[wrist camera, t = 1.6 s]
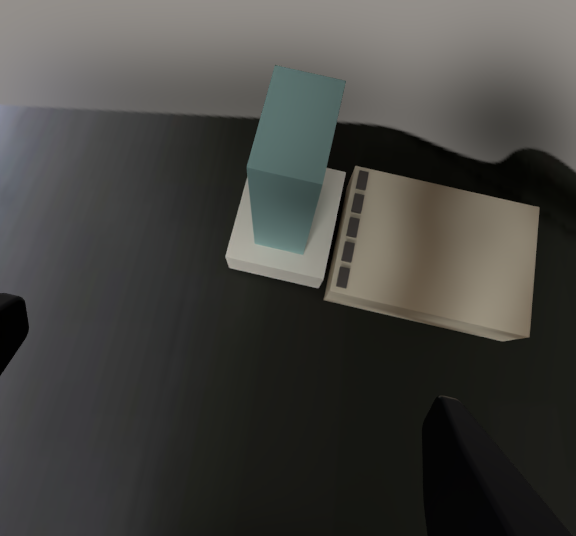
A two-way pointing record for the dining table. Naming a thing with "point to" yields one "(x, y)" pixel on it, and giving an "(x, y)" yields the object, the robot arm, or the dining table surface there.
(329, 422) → the dining table surface
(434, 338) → the dining table surface
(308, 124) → the teal pillar on base
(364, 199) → the beige flat block
